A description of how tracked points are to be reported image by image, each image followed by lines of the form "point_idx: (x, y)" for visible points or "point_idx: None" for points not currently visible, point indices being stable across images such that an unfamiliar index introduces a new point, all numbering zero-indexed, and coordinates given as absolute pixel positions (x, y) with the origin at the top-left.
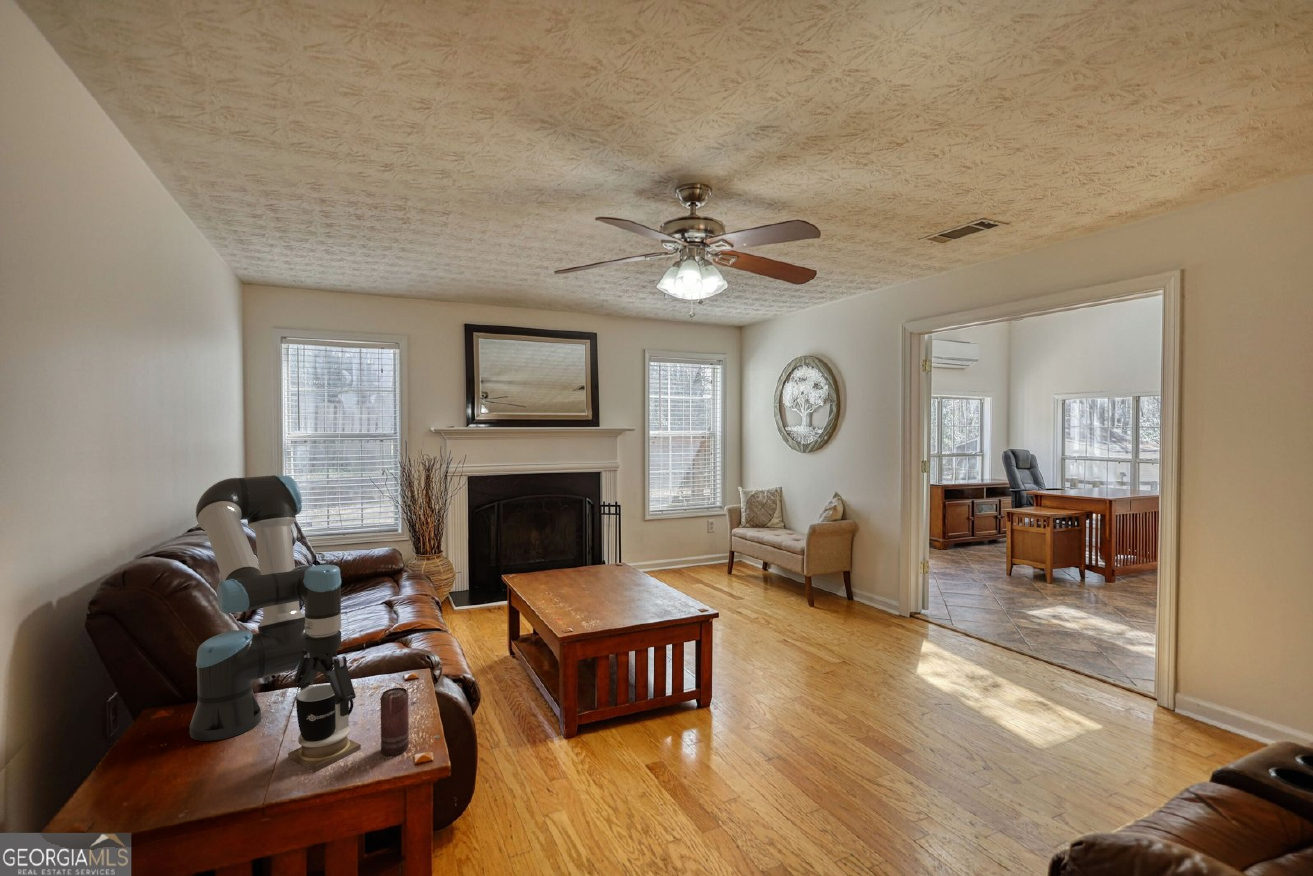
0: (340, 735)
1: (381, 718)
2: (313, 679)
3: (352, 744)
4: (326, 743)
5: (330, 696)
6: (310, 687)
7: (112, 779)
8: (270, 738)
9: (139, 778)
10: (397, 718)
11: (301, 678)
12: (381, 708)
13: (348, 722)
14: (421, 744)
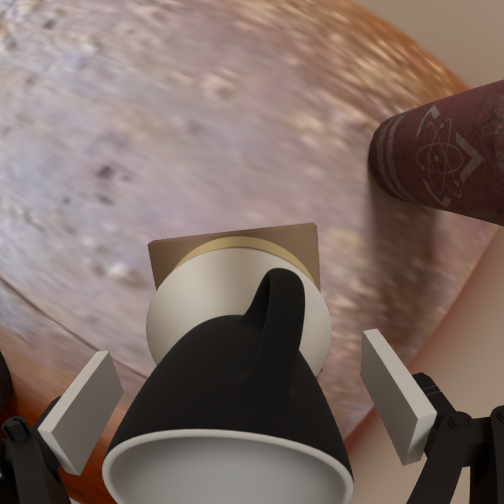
0: (314, 317)
1: (469, 216)
2: (41, 467)
3: (293, 244)
4: (320, 368)
5: (351, 492)
6: (109, 489)
7: (68, 490)
8: (47, 342)
9: (83, 485)
10: None
11: (6, 469)
12: (501, 225)
13: (384, 338)
14: (435, 96)
